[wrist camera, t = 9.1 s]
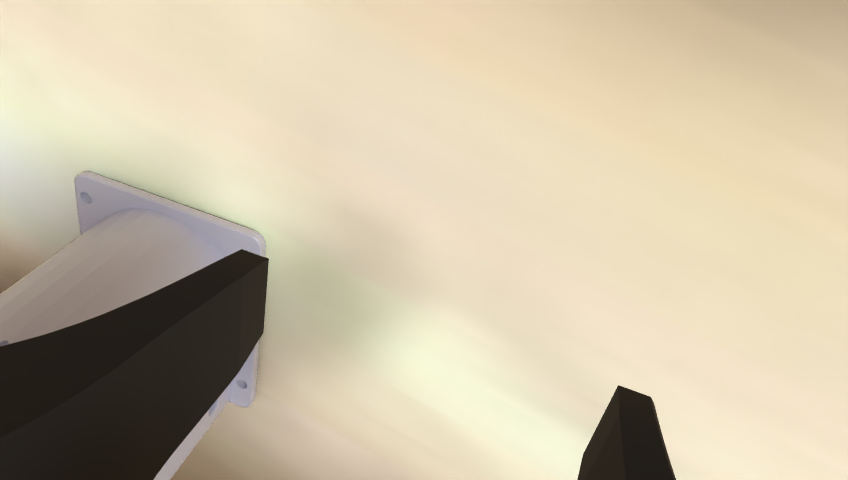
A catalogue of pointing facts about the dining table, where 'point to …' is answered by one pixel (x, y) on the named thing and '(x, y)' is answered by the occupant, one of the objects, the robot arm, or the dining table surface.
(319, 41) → the dining table surface
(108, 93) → the dining table surface
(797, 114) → the dining table surface
